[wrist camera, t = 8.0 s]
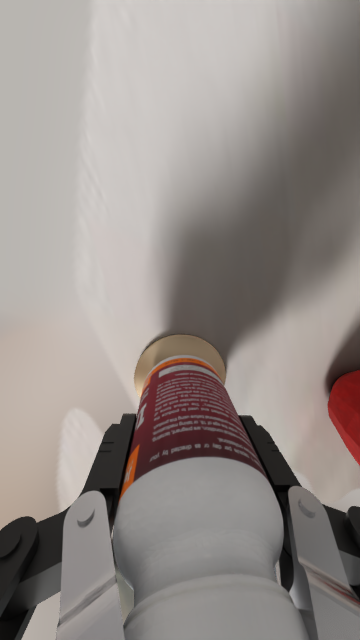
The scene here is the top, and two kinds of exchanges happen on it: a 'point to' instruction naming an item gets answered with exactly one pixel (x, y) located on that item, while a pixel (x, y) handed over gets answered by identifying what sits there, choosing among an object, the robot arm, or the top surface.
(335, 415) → the apple
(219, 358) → the cork coaster
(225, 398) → the pill bottle
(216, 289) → the top surface
